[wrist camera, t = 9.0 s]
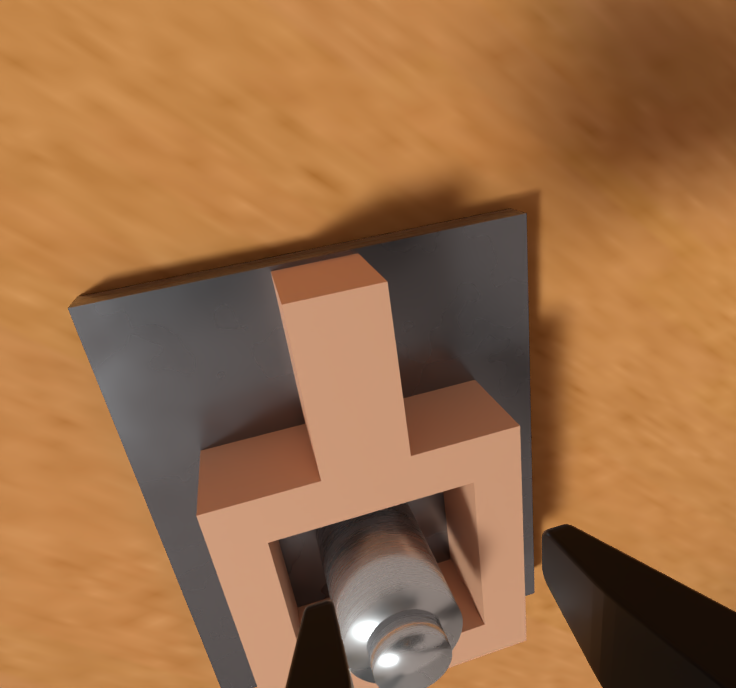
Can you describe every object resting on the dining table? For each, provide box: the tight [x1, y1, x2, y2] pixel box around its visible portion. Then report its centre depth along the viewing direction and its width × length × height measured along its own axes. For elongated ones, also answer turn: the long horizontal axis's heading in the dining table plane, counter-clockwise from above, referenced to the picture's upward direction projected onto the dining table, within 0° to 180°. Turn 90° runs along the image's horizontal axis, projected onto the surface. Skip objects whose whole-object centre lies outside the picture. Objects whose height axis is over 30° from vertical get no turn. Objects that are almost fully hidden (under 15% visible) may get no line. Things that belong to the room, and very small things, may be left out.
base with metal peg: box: [68, 208, 534, 688], centre depth 16 cm, size 13×16×6 cm
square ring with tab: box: [196, 253, 526, 688], centre depth 16 cm, size 9×14×3 cm, turn 9°
